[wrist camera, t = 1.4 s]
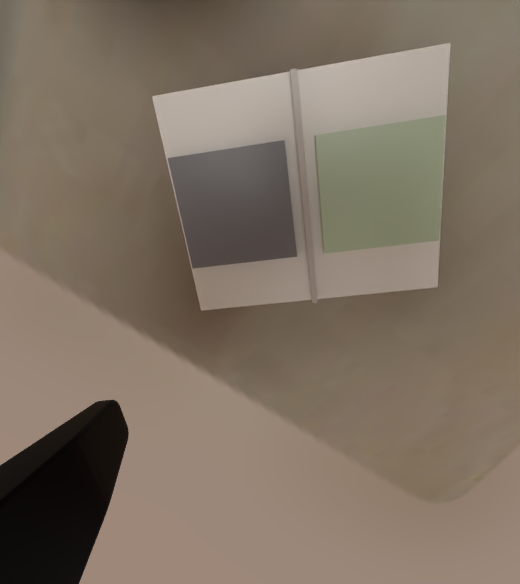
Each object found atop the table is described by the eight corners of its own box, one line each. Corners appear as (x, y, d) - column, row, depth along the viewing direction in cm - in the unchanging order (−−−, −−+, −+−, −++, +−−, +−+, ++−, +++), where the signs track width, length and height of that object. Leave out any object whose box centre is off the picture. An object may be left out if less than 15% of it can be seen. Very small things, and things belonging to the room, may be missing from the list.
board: (444, 46, 15) (455, 39, 14) (433, 283, 19) (441, 290, 18) (156, 97, 17) (148, 94, 16) (203, 306, 21) (199, 314, 20)
